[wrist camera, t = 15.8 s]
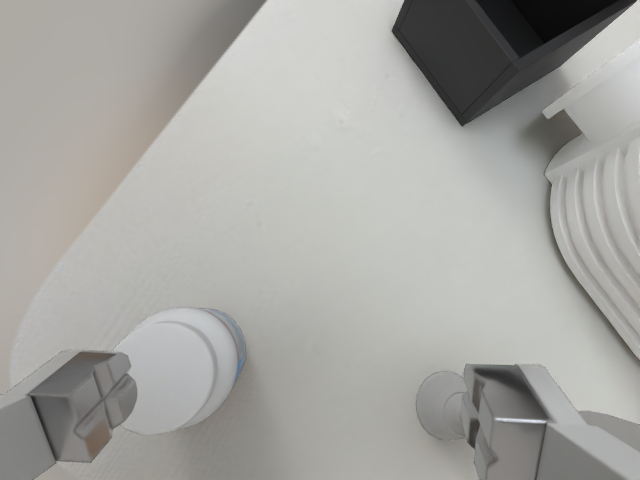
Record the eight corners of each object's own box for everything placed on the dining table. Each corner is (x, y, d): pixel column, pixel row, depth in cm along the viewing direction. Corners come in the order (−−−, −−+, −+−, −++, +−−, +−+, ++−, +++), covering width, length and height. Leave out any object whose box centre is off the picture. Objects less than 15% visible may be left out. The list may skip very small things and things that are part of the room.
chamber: (461, 126, 33) (519, 71, 25) (391, 30, 34) (425, -51, 26) (559, 66, 36) (637, 0, 28) (492, -21, 37) (549, -107, 29)
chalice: (386, 415, 27) (603, 612, 9) (432, 340, 28) (691, 387, 11) (462, 474, 27) (830, 787, 9) (504, 395, 28) (884, 534, 11)
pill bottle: (184, 410, 25) (115, 488, 14) (148, 333, 26) (56, 349, 15) (261, 366, 26) (253, 406, 15) (225, 294, 27) (193, 282, 16)
